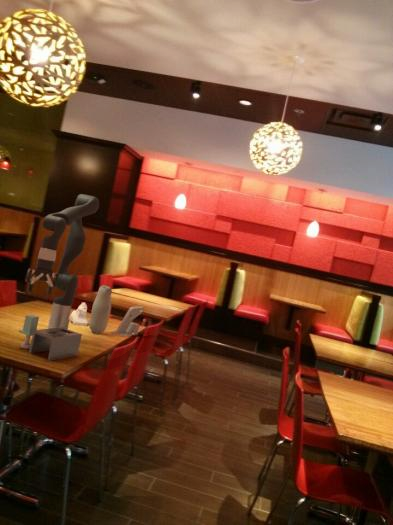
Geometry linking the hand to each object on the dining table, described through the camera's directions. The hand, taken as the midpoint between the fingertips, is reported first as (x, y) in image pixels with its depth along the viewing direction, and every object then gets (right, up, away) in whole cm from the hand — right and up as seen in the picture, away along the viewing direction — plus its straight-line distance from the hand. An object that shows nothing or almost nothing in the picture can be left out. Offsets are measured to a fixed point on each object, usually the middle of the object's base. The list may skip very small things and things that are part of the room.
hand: (38, 293), depth 202 cm
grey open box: (+9, -27, -5) cm, 29 cm away
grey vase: (+14, -27, +54) cm, 62 cm away
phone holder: (+29, -30, +69) cm, 80 cm away
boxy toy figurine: (-4, -24, -5) cm, 25 cm away
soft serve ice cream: (0, -23, +69) cm, 73 cm away
